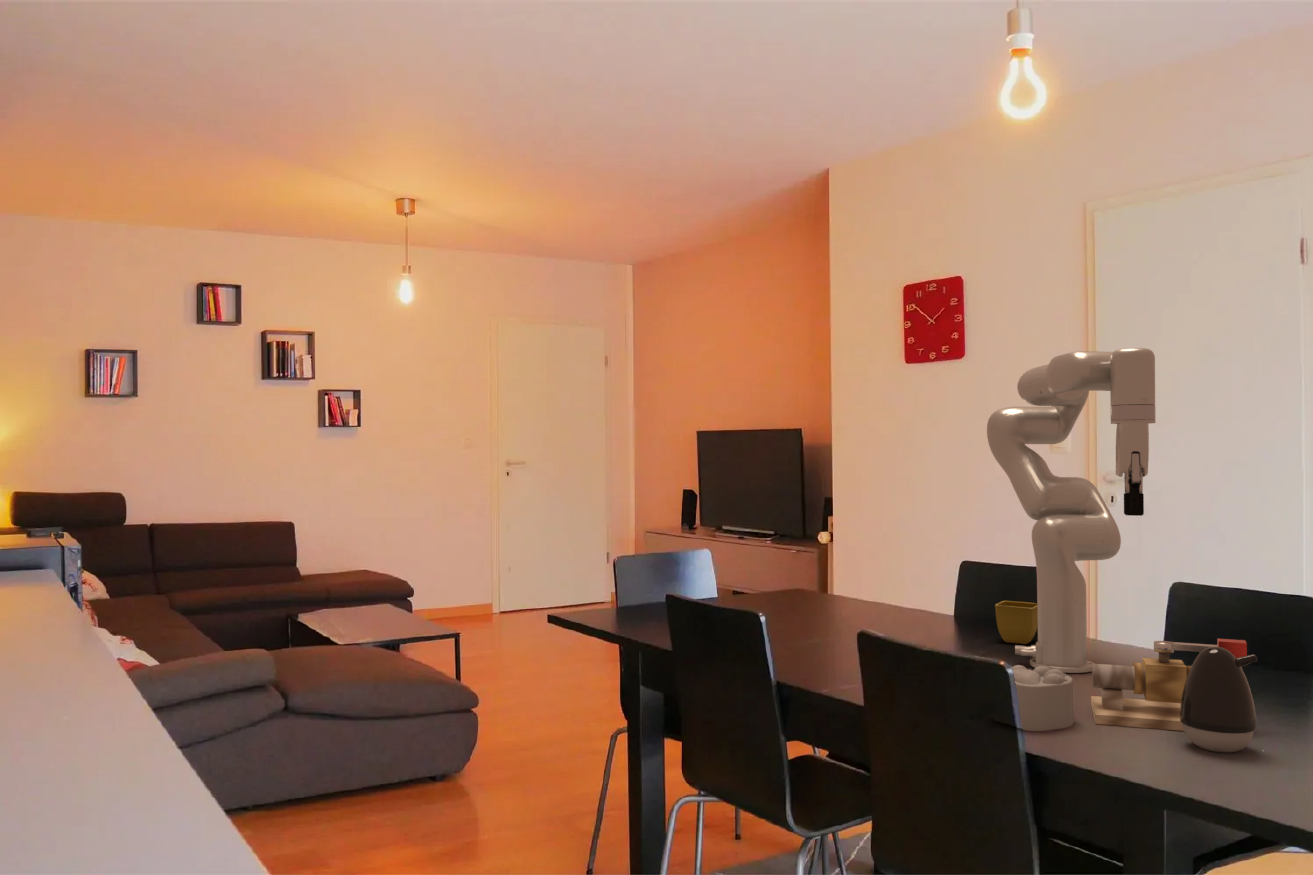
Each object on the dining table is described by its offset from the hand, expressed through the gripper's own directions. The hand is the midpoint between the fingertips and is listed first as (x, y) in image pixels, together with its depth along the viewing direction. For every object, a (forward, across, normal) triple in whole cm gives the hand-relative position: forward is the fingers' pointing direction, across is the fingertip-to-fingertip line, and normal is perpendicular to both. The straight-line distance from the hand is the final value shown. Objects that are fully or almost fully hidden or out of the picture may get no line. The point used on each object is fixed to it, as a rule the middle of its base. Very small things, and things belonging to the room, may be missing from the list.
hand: (1133, 515), depth 190 cm
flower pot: (+33, -50, -21) cm, 64 cm away
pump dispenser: (+33, +33, +9) cm, 48 cm away
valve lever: (+22, +17, +8) cm, 29 cm away
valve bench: (+33, +17, +3) cm, 37 cm away
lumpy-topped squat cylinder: (+33, +25, -17) cm, 45 cm away
